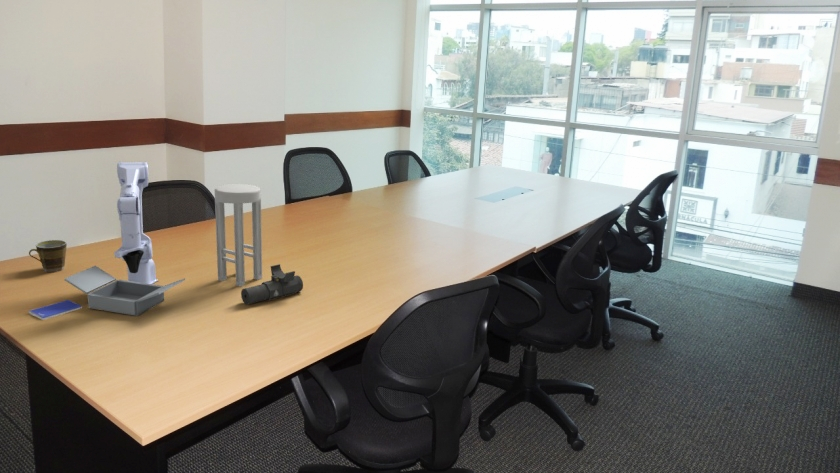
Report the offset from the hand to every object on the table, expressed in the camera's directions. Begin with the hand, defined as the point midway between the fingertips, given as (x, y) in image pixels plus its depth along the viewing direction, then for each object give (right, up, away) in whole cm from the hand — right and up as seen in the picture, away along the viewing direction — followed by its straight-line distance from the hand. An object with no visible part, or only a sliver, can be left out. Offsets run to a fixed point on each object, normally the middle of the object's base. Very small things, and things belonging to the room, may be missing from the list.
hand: (133, 272), depth 214 cm
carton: (-2, -11, 0) cm, 11 cm away
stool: (+27, -4, +28) cm, 40 cm away
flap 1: (-15, -2, +1) cm, 15 cm away
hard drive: (-22, -13, -7) cm, 26 cm away
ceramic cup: (-44, -1, +27) cm, 51 cm away
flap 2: (+11, -5, -5) cm, 13 cm away
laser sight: (+44, -10, +13) cm, 47 cm away
